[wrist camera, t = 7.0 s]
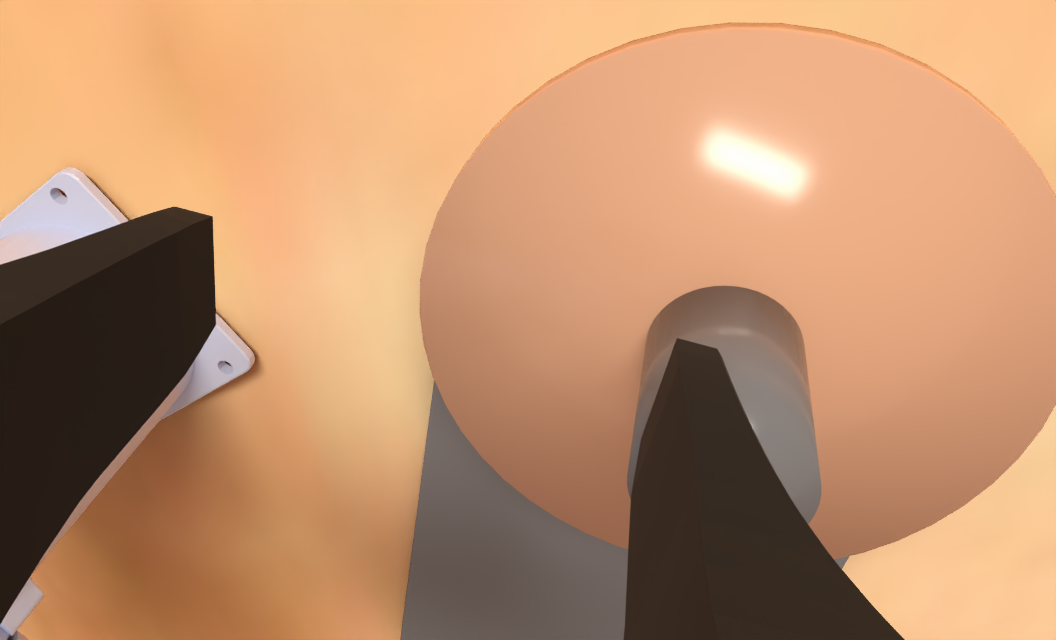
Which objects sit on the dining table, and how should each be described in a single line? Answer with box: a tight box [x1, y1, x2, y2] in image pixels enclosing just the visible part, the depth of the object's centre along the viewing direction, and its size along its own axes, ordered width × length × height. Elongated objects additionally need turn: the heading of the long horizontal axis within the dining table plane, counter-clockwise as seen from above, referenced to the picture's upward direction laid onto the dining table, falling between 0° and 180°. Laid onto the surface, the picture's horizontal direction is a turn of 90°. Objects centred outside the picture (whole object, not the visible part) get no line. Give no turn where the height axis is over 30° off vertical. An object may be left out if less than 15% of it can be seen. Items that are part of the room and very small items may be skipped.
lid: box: [420, 23, 1056, 560], centre depth 17 cm, size 13×13×5 cm
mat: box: [400, 380, 849, 640], centre depth 31 cm, size 14×14×1 cm
